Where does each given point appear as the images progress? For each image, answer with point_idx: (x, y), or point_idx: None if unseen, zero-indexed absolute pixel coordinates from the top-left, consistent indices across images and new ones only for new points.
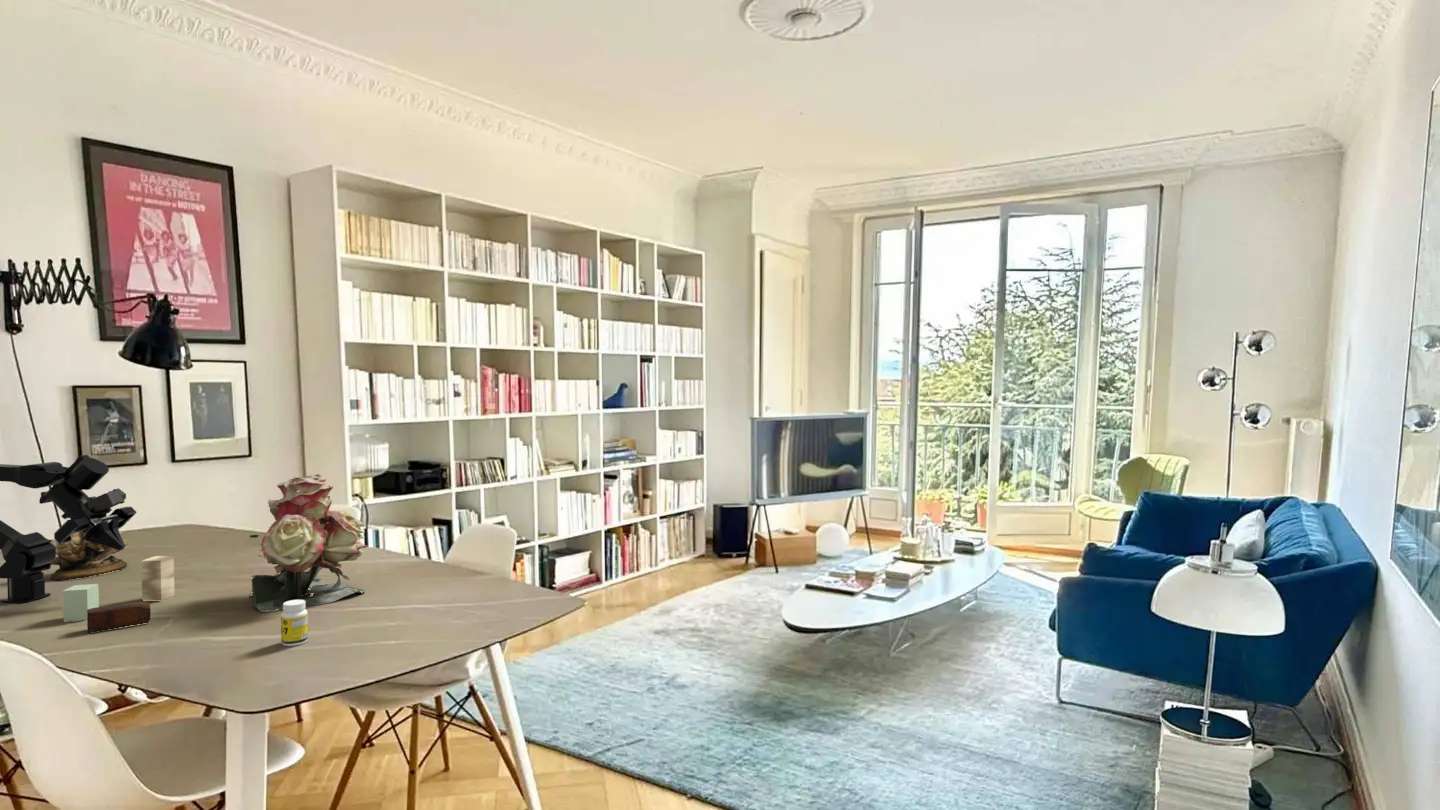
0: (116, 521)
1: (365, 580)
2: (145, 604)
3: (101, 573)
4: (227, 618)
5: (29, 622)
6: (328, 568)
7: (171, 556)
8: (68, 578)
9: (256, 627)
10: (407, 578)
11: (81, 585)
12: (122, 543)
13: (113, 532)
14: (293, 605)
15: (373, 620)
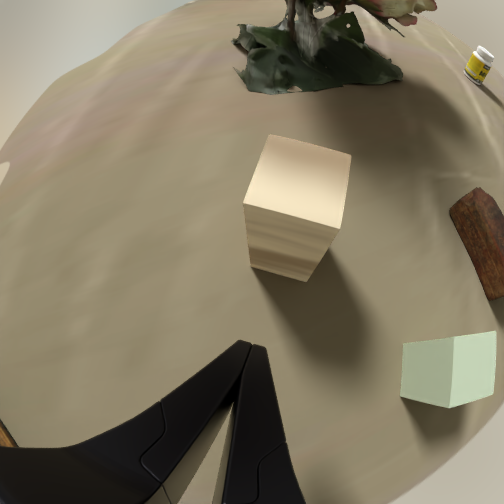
0: (30, 480)
1: (250, 20)
2: (482, 192)
3: (12, 442)
4: (429, 110)
5: (418, 461)
6: (318, 5)
7: (274, 139)
8: None
9: (450, 91)
10: (256, 5)
11: (458, 382)
12: (237, 357)
13: (180, 464)
14: (491, 54)
15: (410, 34)
